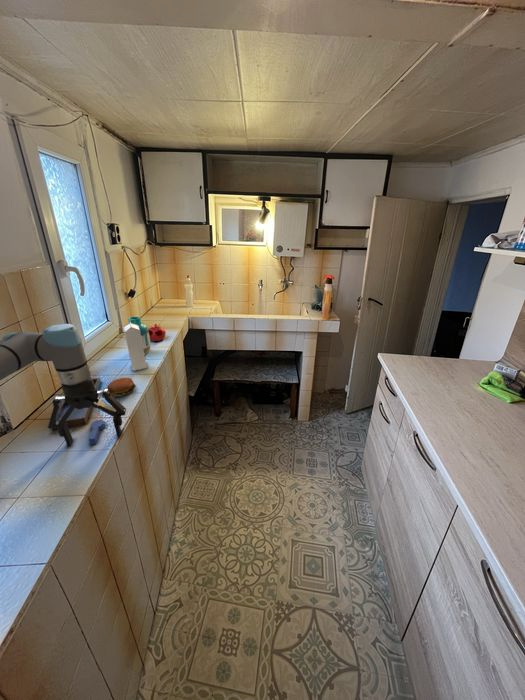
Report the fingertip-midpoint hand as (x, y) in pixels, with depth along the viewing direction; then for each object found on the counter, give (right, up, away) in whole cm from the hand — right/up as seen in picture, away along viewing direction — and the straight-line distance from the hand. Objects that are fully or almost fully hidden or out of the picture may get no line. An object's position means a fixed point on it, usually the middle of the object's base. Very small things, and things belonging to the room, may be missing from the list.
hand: (95, 438), depth 87 cm
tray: (-16, +8, +17) cm, 24 cm away
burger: (-4, +11, +24) cm, 27 cm away
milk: (-5, +20, +43) cm, 48 cm away
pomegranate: (-8, +34, +73) cm, 81 cm away
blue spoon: (-1, +1, +2) cm, 3 cm away
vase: (-10, +26, +56) cm, 62 cm away
